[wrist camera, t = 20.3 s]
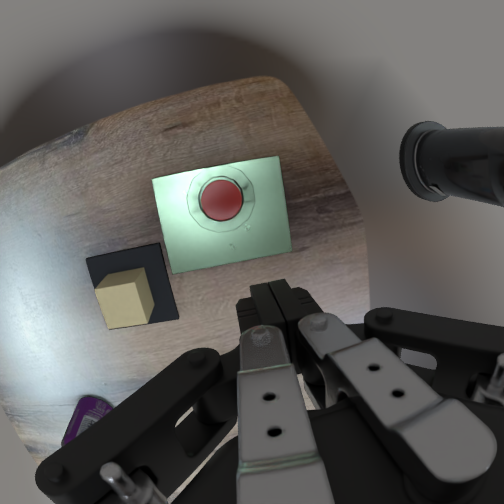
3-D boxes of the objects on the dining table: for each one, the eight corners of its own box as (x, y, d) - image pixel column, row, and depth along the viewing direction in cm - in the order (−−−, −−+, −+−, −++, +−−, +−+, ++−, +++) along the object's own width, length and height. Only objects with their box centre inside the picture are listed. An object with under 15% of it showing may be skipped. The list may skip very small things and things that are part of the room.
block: (144, 267, 35) (134, 282, 30) (154, 304, 36) (147, 323, 31) (107, 274, 34) (93, 289, 29) (119, 310, 36) (108, 329, 31)
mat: (159, 242, 35) (159, 243, 34) (179, 317, 38) (178, 319, 37) (86, 257, 34) (85, 259, 33) (110, 327, 37) (109, 329, 36)
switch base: (274, 156, 34) (282, 154, 30) (287, 246, 37) (296, 255, 33) (154, 178, 33) (148, 179, 29) (174, 268, 36) (170, 280, 32)
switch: (236, 176, 30) (238, 176, 29) (243, 214, 32) (245, 216, 30) (198, 183, 30) (197, 184, 28) (205, 221, 31) (205, 224, 30)
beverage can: (71, 398, 39) (48, 449, 28) (99, 389, 39) (79, 444, 28) (97, 426, 41) (81, 476, 30) (126, 418, 41) (113, 473, 30)
